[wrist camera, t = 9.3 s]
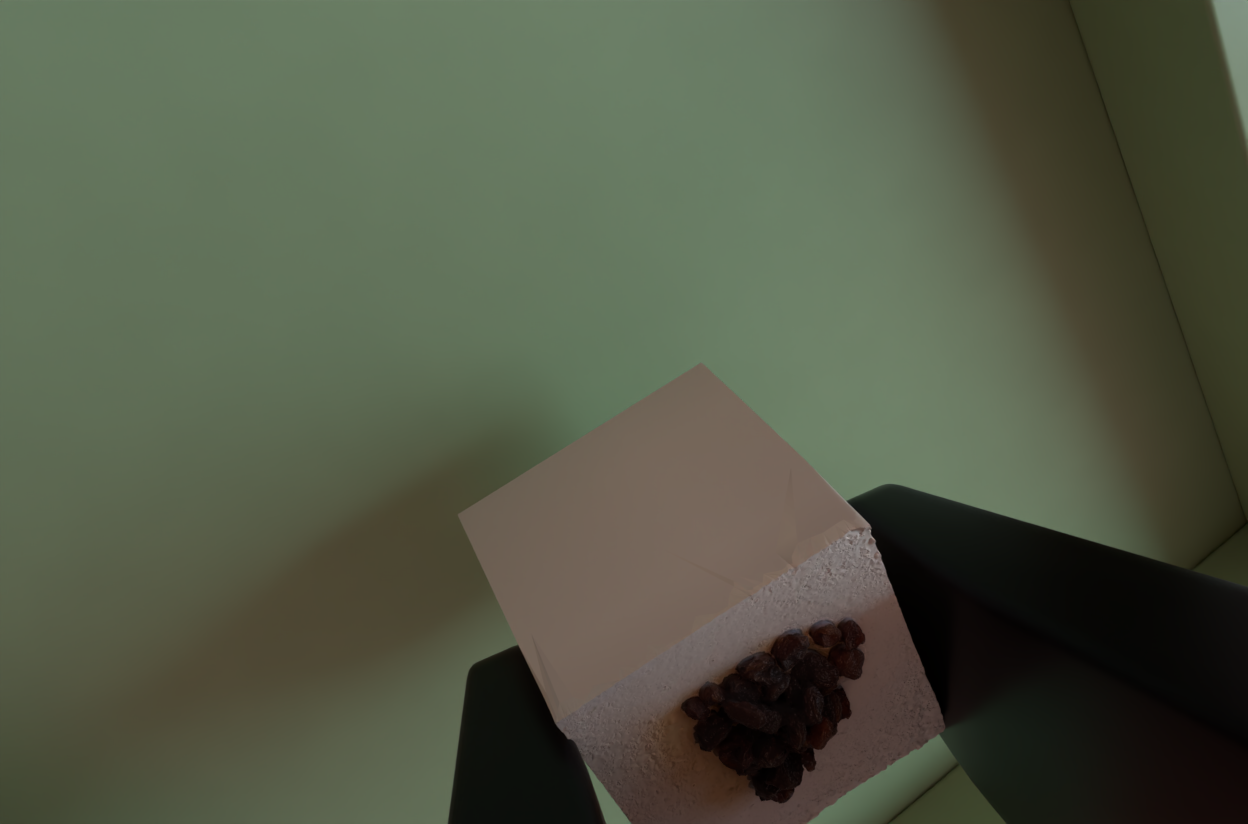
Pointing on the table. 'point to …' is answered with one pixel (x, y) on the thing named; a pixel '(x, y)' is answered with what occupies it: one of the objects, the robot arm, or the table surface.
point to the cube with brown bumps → (705, 614)
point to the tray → (557, 335)
